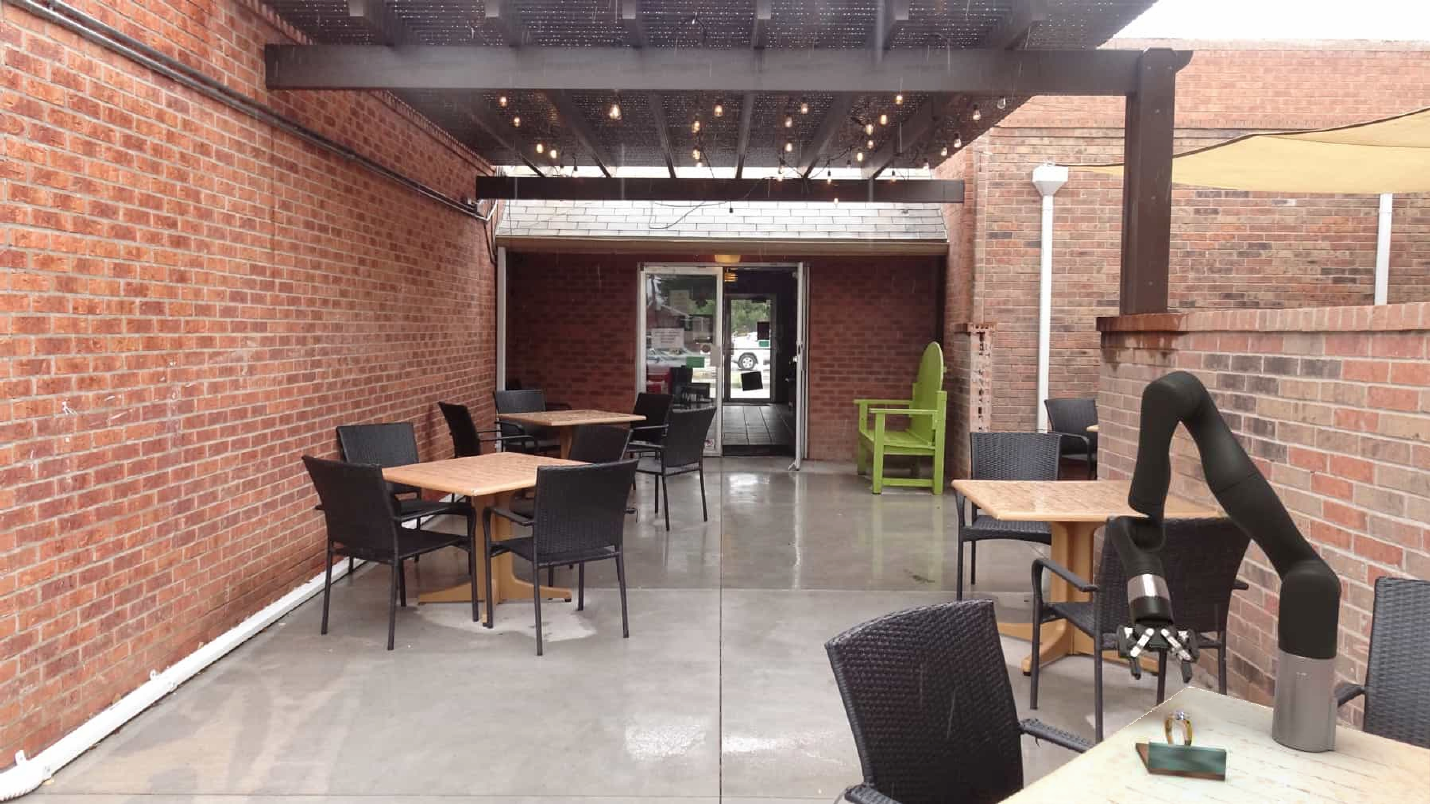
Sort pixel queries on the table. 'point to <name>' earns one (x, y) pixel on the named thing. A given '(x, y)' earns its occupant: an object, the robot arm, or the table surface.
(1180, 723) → the gold diamond ring
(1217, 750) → the desk nameplate
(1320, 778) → the table surface
